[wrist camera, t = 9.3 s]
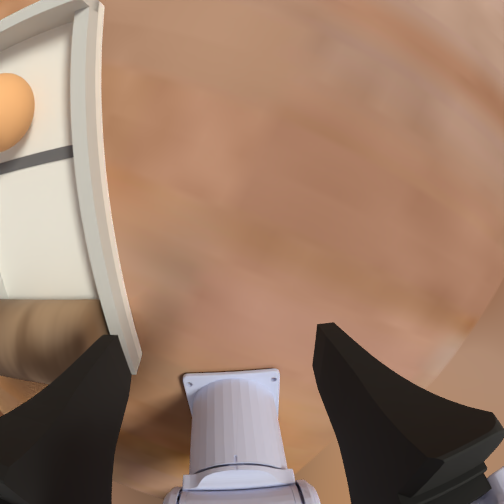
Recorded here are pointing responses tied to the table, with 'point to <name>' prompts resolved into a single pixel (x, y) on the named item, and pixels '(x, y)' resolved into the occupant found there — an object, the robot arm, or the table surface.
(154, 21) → the table surface
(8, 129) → the ball
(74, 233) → the lane
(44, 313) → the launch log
